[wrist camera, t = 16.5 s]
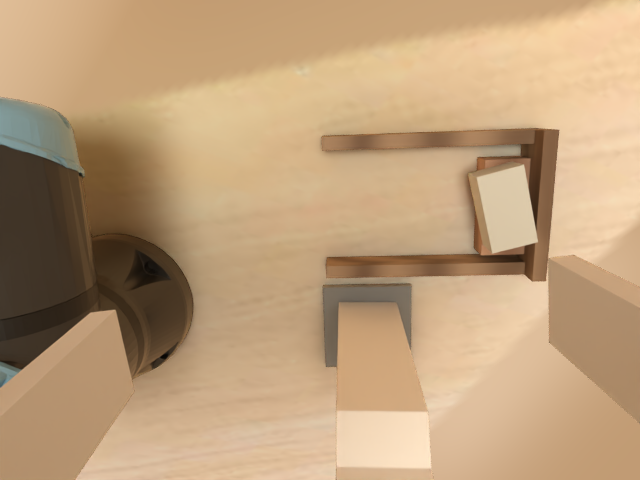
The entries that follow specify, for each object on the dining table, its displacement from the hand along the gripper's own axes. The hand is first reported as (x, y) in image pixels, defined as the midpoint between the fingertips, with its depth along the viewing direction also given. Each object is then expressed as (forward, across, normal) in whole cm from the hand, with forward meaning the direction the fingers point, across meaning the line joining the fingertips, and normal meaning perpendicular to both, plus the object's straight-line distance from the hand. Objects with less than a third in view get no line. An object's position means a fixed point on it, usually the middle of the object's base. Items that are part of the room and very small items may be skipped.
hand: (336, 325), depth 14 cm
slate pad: (+34, +3, -15) cm, 37 cm away
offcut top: (+30, +16, -3) cm, 34 cm away
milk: (+33, +3, -15) cm, 36 cm away
